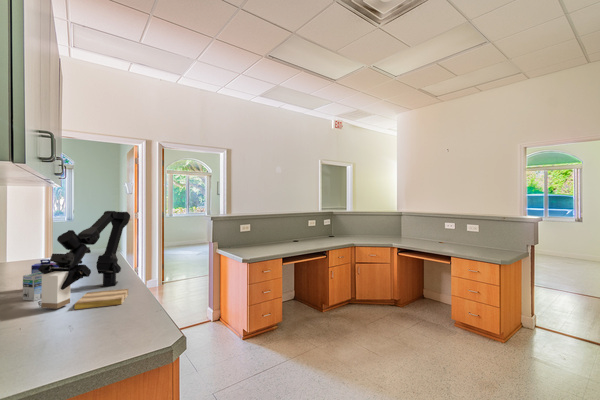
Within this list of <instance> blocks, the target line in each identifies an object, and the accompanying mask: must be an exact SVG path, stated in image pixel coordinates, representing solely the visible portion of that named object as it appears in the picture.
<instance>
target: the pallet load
mask: <svg viewBox="0 0 600 400" xmlns="http://www.w3.org/2000/svg"><path fill="white" fill-rule="evenodd" d="M68 274H69V272H64V271H54V272H51V273H48V274H44V275H42V296H41V299H40V301H41V303H40V304H41V309H55V310H56V309H60V308H62V307H64V306H66V305H68V304H70V303H71V285H69V286H68V287H66V288H65V289H63V290H62V289H61V287H62V285H63V283H64V282H65V280H66V278H67V277H68Z"/></svg>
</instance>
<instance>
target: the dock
mask: <svg viewBox="0 0 600 400" xmlns="http://www.w3.org/2000/svg"><path fill="white" fill-rule="evenodd" d="M128 295H129V288H121V289H120V288H119V289H110V290H101V291H92V292H86V293H84V294H83V296H81V298H79V299H78V300H77V301H76V302H75V303H74V310H81V309H92V308H101V307H111V306H119V305H123V303H124V301H126V299H127V297H128Z"/></svg>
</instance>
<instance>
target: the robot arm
mask: <svg viewBox="0 0 600 400" xmlns="http://www.w3.org/2000/svg"><path fill="white" fill-rule="evenodd" d="M130 219H131V214H130V213H129V212H128V211H115V210H105V211H104V212H103V213H102V215H101V216H100V217H99V218H98V219H97V220H96V221H95V222H94V223H93V224H92V225H91V226H90V227H87V228H85V229H83V230H81V232H78V234H77V233H76V232H75V231H74V230H73V229H69V230H67V231H66V232H64V233H61V234H60V235H58V237H57V239H56V241H57V243H59V244H60V245H61V246H62V247H63V248H64V249H65V250H67V251H68V252H66V253H52V254H51V255H50V259H49V260H50V262H55V263H56V265H57V266H59V268H55V267H54V266H53V265H52V264H43V265H41V266H40V267H39V268H38V270H39V271H40V272H41V273H43V274H48V273H51V272H54V271H64V272H69V274H68V277H67V278H66V280H65V282H64V283H63V285H62V287H61V289H62V290H63V289H65V288H66V287H68V286H69V285H70V286H71V285H73V284H74V283H76V282H77V281H79V280H81V279H83V278H89V277H90V275H91V273H92V270H91V269H90V268H89V267H88V266H87V265H86V264H83V258H84V257H85V256H86V254H91V249H90V248H91V247H88V246H87V245H89V246H91V245H92V246H93V245H95V244H96V243H97V242H98V241H99V239H100V238H101V233H102V232H103V231H104V230H105V228H106V227H108V225H110V224H111V225H112V226H111V231H110V234H109V237H108V242H107V244H106V247H105V250H104V253H103V254H100V255H98V257H97V261H96V270H97V274H98V275H99V274H101V275H102V284H101V285H100V287H101V288H103V287H112V286H113V287H114V286H116V285H117V284H118V283H119V281H117V274H119V273H120V272H121V271H122V267H121V265H120V264H118V257H117V252H118V248H119V243H120V242H121V241H120V240H121V238H122V234H123V230H124V228H125V227H126V226H127V225H128V224H129V222H130Z"/></svg>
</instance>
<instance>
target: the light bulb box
mask: <svg viewBox="0 0 600 400" xmlns="http://www.w3.org/2000/svg"><path fill="white" fill-rule="evenodd" d="M42 275H44V274H43V273H41V272H38V273H33V274H31V273H29V274H25V275H22V301H31V302H34V301H38V300H41V296H42Z"/></svg>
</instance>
